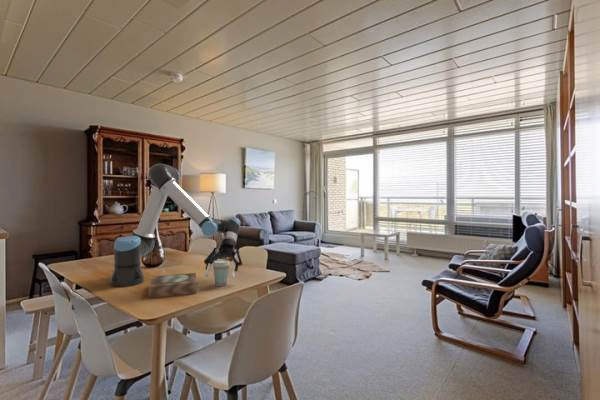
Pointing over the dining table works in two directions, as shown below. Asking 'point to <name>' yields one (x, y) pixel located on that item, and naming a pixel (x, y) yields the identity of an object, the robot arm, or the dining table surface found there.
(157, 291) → the walnut plinth
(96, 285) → the dining table surface
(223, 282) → the coffee cup
